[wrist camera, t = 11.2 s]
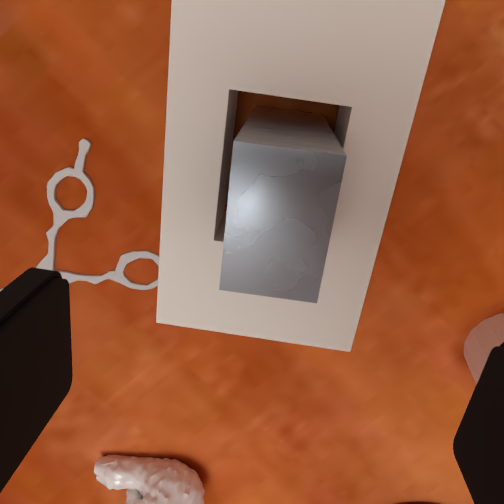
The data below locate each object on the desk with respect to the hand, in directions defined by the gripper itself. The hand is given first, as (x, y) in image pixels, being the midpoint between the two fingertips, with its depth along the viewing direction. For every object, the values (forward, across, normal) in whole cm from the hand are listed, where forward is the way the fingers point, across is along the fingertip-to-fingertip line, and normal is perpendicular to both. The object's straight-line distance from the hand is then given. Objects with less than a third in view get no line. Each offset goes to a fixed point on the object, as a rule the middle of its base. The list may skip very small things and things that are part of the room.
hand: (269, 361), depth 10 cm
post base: (+20, 0, -1) cm, 20 cm away
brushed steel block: (+20, 0, 0) cm, 20 cm away
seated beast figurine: (+20, +6, +29) cm, 36 cm away
